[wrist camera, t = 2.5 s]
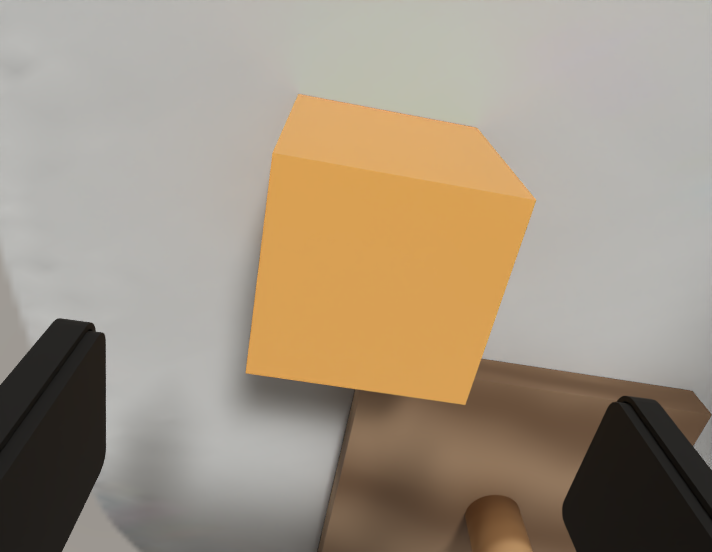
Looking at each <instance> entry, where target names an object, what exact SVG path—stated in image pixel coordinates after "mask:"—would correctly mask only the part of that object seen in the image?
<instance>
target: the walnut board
mask: <svg viewBox="0 0 712 552" xmlns="http://www.w3.org/2000/svg"><path fill="white" fill-rule="evenodd" d="M622 396H633V397H640V398H647V399H653V400H656V401H657V402H658V403H659V404H660V405H661V406H662V407H663V409H664V410H665V411H666V413H667V414H668V415H669V416H670V418H671V419H672V420H673V422H674V423H675V424H676V425H677V427H678V428H679V429H680V431H681V432H682V433H683V434H684V436H685V437H686V438H687V440H688V441H689V442H690V443H691V445H692V446H693V445H694V444H695V442H696V440H697V439H698V437H699V435H700V434H701V432H702V430H703V429H704V427H705V425H706V424H707V422H708V420H709V419H710V417H711V415H712V414H711V413H710V412H709V411H708V409H707V408H706V407H705V406H704V405H703V403H702V402H701V401H700V400H699V398H698V397H697V396H696V395H695V394H694V392H693V391H690V390H683V389H677V388H670V387H663V386H657V385H650V384H644V383H637V382H631V381H624V380H618V379H611V378H604V377H598V376H591V375H585V374H578V373H572V372H565V371H558V370H552V369H545V368H539V367H532V366H526V365H519V364H513V363H506V362H499V361H493V360H486V359H481V361H480V364H479V367H478V370H477V373H476V375H475V378H474V381H473V384H472V387H471V390H470V393H469V396H468V399H467V401H466V404H465V405H462V404H455V403H448V402H442V401H435V400H428V399H421V398H414V397H407V396H400V395H393V394H386V393H379V392H372V391H365V390H358V389H355V392H354V397H353V401H352V405H351V410H350V414H349V418H348V422H347V427H346V431H345V435H344V440H343V444H342V448H341V453H340V457H339V461H338V465H337V470H336V474H335V478H334V483H333V487H332V491H331V495H330V500H329V504H328V508H327V513H326V517H325V521H324V526H323V530H322V534H321V538H320V543H319V547H318V551H317V552H576V550H575V547H574V545H573V543H572V540H571V538H570V536H569V533H568V531H567V529H566V526H565V524H564V521H563V517H562V506H563V502H564V499H565V497H566V495H567V493H568V491H569V489H570V486H571V484H572V482H573V480H574V478H575V476H576V474H577V472H578V469H579V467H580V465H581V463H582V461H583V459H584V457H585V455H586V452H587V450H588V448H589V446H590V444H591V442H592V440H593V437H594V435H595V433H596V431H597V429H598V427H599V425H600V423H601V420H602V418H603V416H604V414H605V412H606V410H607V408H608V406H609V405H610V404H611V403H612V402H617V400H618V399H619V398H620V397H622Z"/></svg>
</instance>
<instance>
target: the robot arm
mask: <svg viewBox="0 0 712 552" xmlns="http://www.w3.org/2000/svg"><path fill="white" fill-rule="evenodd" d="M105 453H106V340H105V335H104V333H101V332H96V330H95V326H94V324H93V323H90V322H83V321H75V320H68V319H61V318H59V319H56V320H55V321H54V322H53V323H52V324H51V325H50V327H49V328H48V329H47V330H46V331H45V333H44V334H43V335H42V336H41V337H40V338H39V340H38V341H37V342H36V343H35V344H34V346H33V347H32V348H31V349H30V351H29V352H28V353H27V354H26V355H25V356H24V358H23V359H22V360H21V361H20V362H19V364H18V365H17V366H16V367H15V368H14V370H13V371H12V372H11V373H10V374H9V375H8V377H7V378H6V379H5V380H4V381H3V383H2V384H1V385H0V552H62V550H63V548H64V546H65V544H66V542H67V540H68V538H69V536H70V534H71V532H72V530H73V528H74V525H75V523H76V521H77V519H78V517H79V515H80V513H81V511H82V509H83V507H84V505H85V503H86V501H87V499H88V497H89V494H90V492H91V490H92V488H93V486H94V484H95V482H96V480H97V478H98V476H99V474H100V472H101V469H102V466H103V463H104V459H105ZM562 517H563V521H564V524H565V526H566V529H567V531H568V533H569V536H570V538H571V540H572V543H573V545H574V547H575V550H576V552H712V470H711V469H710V468H709V466H708V465H707V464H706V463H705V461H704V460H703V459H702V457H701V456H700V455H699V454H698V452H697V451H696V450H695V448H694V447H693V446H692V445H691V443H690V442H689V441H688V440H687V438H686V437H685V436H684V434H683V433H682V432H681V431H680V429H679V428H678V427H677V425H676V424H675V423H674V422H673V420H672V419H671V418H670V416H669V415H668V414H667V413H666V411H665V410H664V409H663V407H662V406H661V405H660V404H659V403H658V402H657V401H656V400H653V399H647V398H640V397H633V396H622V397H620V398H619V399H618V400H617V402H612V403H611V404H610V405H609V406H608V408H607V410H606V412H605V414H604V416H603V418H602V420H601V423H600V425H599V427H598V429H597V431H596V433H595V435H594V437H593V440H592V442H591V444H590V446H589V448H588V450H587V452H586V455H585V457H584V459H583V461H582V463H581V465H580V467H579V469H578V472H577V474H576V476H575V478H574V480H573V482H572V484H571V486H570V489H569V491H568V493H567V495H566V497H565V499H564V502H563V506H562Z"/></svg>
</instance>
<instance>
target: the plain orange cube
mask: <svg viewBox="0 0 712 552" xmlns="http://www.w3.org/2000/svg"><path fill="white" fill-rule="evenodd" d="M535 202H536V199H535V198H534V197H533V196H532V194H531V193H530V192H529V191H528V190H527V188H526V187H525V186H524V185H523V183H522V182H521V181H520V180H519V179H518V177H517V176H516V175H515V174H514V172H513V171H512V170H511V169H510V168H509V166H508V165H507V164H506V163H505V161H504V160H503V159H502V158H501V157H500V155H499V154H498V153H497V152H496V150H495V149H494V148H493V147H492V146H491V144H490V143H489V142H488V141H487V139H486V138H485V137H484V136H483V135H482V133H481V132H480V131H479V130H478V128H475V127H470V126H464V125H459V124H454V123H449V122H443V121H438V120H433V119H427V118H422V117H417V116H412V115H406V114H401V113H396V112H391V111H385V110H380V109H375V108H369V107H364V106H359V105H354V104H348V103H343V102H338V101H333V100H327V99H322V98H317V97H311V96H306V95H301V94H298V96H297V99H296V101H295V103H294V105H293V108H292V110H291V112H290V115H289V117H288V119H287V121H286V124H285V126H284V128H283V130H282V133H281V135H280V137H279V140H278V142H277V144H276V146H275V149H274V151H273V154H272V162H271V171H270V179H269V187H268V195H267V203H266V211H265V219H264V227H263V236H262V244H261V252H260V260H259V268H258V276H257V284H256V292H255V301H254V309H253V317H252V325H251V333H250V341H249V349H248V357H247V366H246V373H248V374H255V375H262V376H268V377H275V378H282V379H289V380H296V381H303V382H310V383H317V384H324V385H331V386H338V387H345V388H352V389H358V390H365V391H372V392H379V393H386V394H393V395H400V396H407V397H414V398H421V399H428V400H435V401H442V402H448V403H455V404H462V405H465V404H466V401H467V399H468V396H469V393H470V390H471V387H472V384H473V381H474V378H475V375H476V373H477V370H478V367H479V364H480V361H481V358H482V355H483V352H484V349H485V347H486V344H487V341H488V338H489V335H490V332H491V329H492V326H493V323H494V321H495V318H496V315H497V312H498V309H499V306H500V303H501V300H502V297H503V295H504V292H505V289H506V286H507V283H508V280H509V277H510V274H511V272H512V269H513V266H514V263H515V260H516V257H517V254H518V251H519V248H520V246H521V243H522V240H523V237H524V234H525V231H526V228H527V225H528V222H529V220H530V217H531V214H532V211H533V208H534V205H535Z"/></svg>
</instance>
